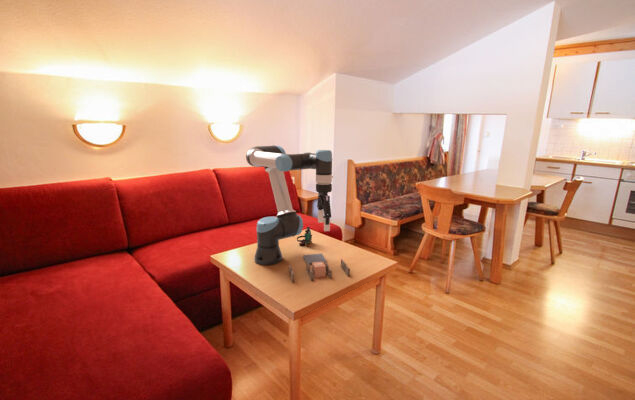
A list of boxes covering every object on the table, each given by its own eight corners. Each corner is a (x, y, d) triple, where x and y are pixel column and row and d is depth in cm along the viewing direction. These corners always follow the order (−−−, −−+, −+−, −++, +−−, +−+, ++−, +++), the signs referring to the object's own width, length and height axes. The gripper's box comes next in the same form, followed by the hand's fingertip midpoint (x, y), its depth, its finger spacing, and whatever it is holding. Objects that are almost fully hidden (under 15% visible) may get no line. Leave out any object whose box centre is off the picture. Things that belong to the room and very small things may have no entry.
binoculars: (297, 226, 203) (312, 226, 200) (299, 242, 205) (314, 242, 203) (293, 231, 194) (309, 230, 192) (295, 247, 196) (311, 247, 194)
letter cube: (312, 272, 163) (312, 262, 161) (322, 271, 164) (322, 261, 163) (314, 277, 158) (314, 266, 156) (325, 276, 159) (325, 265, 158)
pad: (303, 256, 181) (303, 255, 181) (321, 255, 184) (321, 253, 184) (307, 265, 171) (307, 263, 171) (326, 263, 173) (327, 261, 173)
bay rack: (288, 271, 163) (288, 264, 162) (342, 266, 170) (342, 259, 169) (292, 282, 152) (292, 275, 151) (349, 276, 159) (350, 269, 158)
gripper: (338, 187, 139) (337, 234, 143) (325, 178, 162) (325, 219, 167) (321, 188, 137) (321, 235, 142) (311, 179, 161) (311, 219, 166)
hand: (323, 226), depth 154 cm, fingers open, 13 cm apart
